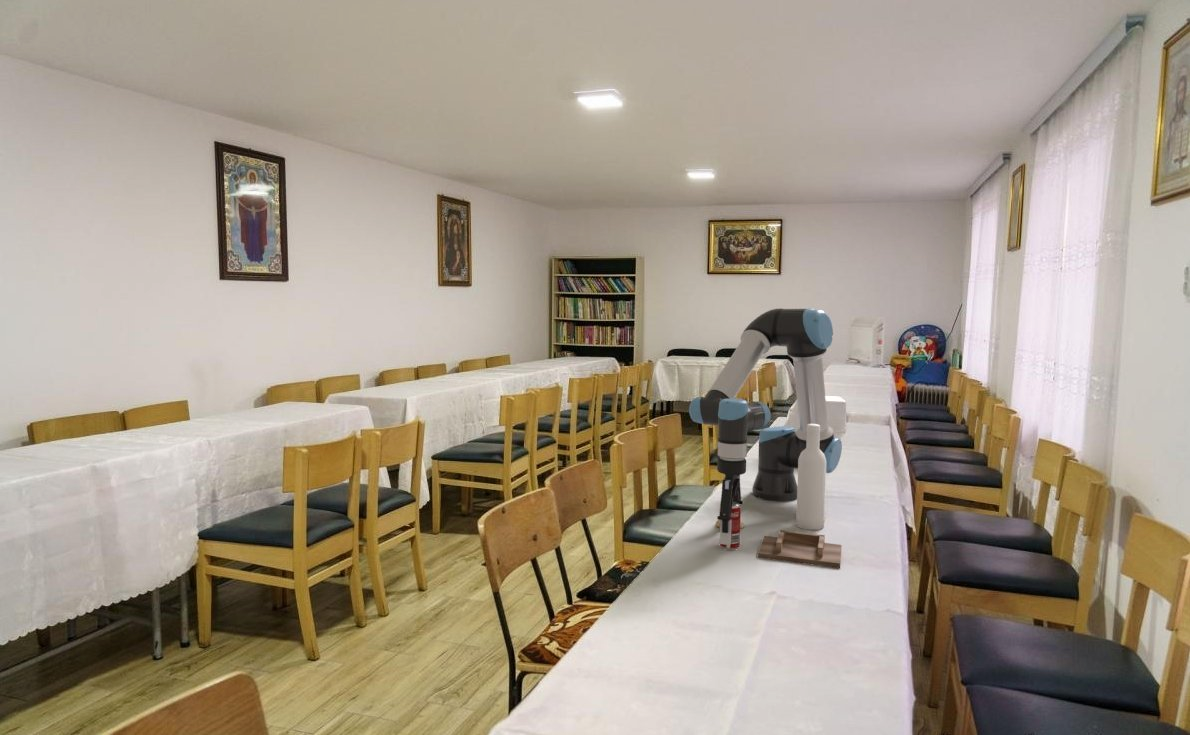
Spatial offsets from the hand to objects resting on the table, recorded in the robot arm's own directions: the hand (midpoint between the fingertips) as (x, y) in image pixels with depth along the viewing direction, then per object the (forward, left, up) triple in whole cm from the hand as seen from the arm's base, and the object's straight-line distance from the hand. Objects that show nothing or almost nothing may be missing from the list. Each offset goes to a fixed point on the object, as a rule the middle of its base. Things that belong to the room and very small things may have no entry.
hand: (729, 535), depth 187 cm
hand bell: (-18, -3, -3) cm, 19 cm away
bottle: (-26, +19, -3) cm, 32 cm away
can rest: (-2, +18, -3) cm, 18 cm away
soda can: (0, 0, -3) cm, 3 cm away
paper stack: (-116, +14, -3) cm, 117 cm away
